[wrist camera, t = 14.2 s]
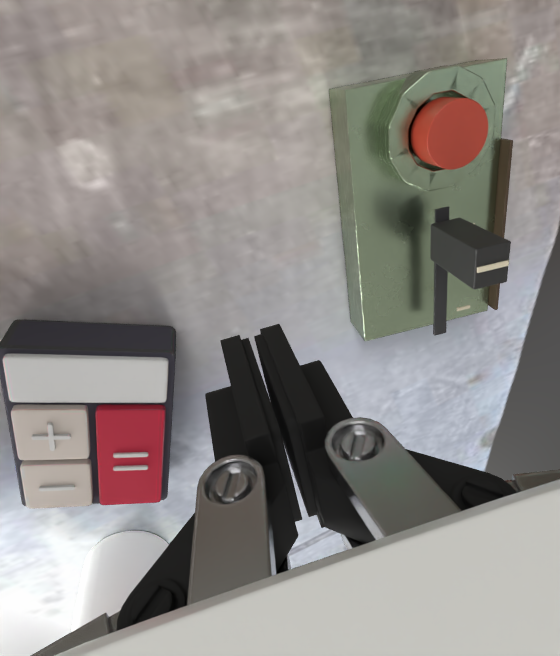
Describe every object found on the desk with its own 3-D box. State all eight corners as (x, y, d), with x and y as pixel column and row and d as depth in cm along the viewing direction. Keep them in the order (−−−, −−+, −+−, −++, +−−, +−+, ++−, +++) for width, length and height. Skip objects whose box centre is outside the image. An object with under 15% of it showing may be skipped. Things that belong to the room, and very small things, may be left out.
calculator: (19, 516, 35) (-11, 353, 27) (33, 472, 38) (11, 318, 31) (167, 508, 37) (176, 358, 30) (168, 468, 41) (176, 325, 34)
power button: (410, 169, 27) (427, 175, 25) (409, 103, 25) (427, 105, 24) (466, 157, 27) (486, 162, 26) (469, 91, 26) (491, 92, 24)
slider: (429, 259, 29) (474, 291, 25) (430, 223, 28) (477, 249, 24) (458, 252, 29) (508, 282, 25) (460, 216, 28) (512, 241, 24)
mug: (178, 597, 49) (179, 711, 40) (98, 610, 47) (80, 732, 39) (170, 521, 43) (169, 634, 35) (78, 534, 42) (52, 656, 33)
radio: (350, 322, 37) (373, 354, 33) (328, 84, 28) (355, 85, 24) (464, 294, 38) (502, 321, 34) (476, 55, 29) (528, 51, 25)
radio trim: (408, 309, 36) (434, 335, 33) (404, 151, 30) (436, 161, 27) (473, 293, 37) (506, 317, 33) (483, 135, 31) (525, 142, 27)
